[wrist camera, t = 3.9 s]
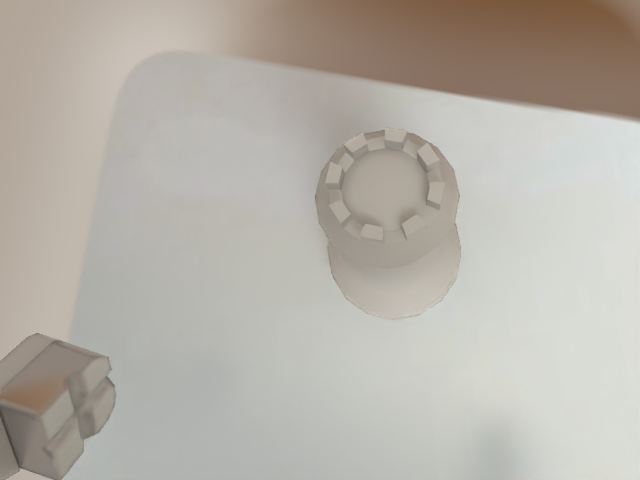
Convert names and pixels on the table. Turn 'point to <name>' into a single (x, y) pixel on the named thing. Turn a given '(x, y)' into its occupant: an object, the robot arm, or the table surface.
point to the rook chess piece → (390, 222)
